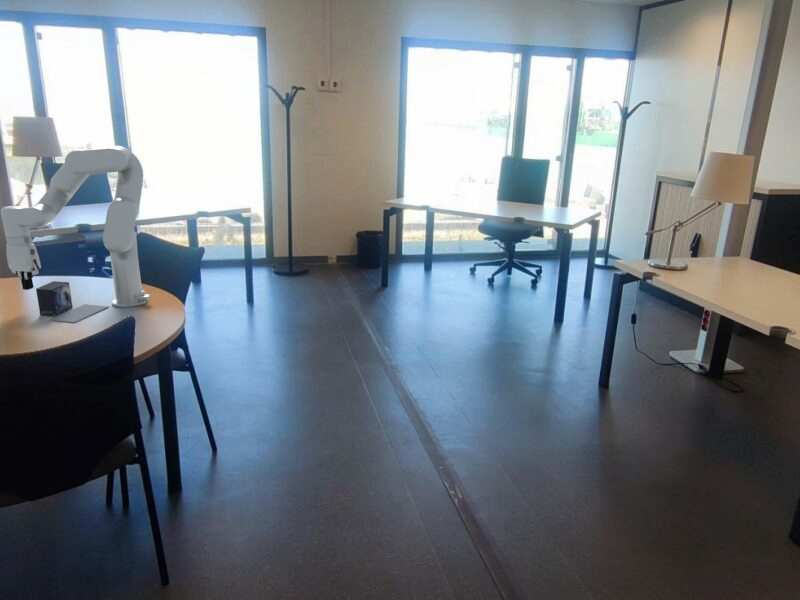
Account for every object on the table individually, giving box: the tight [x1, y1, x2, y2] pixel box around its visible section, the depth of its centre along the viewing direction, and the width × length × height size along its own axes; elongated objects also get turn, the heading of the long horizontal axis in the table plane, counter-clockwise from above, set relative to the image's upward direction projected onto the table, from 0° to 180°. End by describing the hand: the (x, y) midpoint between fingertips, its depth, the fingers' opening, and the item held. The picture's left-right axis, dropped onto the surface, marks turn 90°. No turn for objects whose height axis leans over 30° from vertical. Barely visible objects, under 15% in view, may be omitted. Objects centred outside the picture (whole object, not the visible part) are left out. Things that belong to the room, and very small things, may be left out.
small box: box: [35, 280, 73, 317], centre depth 203 cm, size 11×6×10 cm, turn 179°
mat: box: [48, 303, 110, 324], centre depth 203 cm, size 10×18×1 cm, turn 169°
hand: (28, 288), depth 204 cm, fingers closed
